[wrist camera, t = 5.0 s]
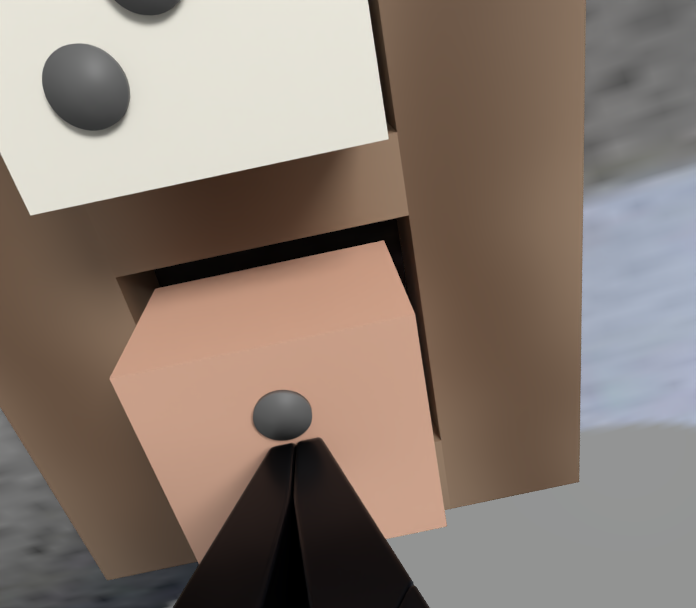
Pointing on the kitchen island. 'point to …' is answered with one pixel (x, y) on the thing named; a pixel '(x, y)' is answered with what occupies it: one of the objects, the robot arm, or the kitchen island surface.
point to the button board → (326, 216)
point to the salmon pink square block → (284, 386)
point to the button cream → (177, 91)
